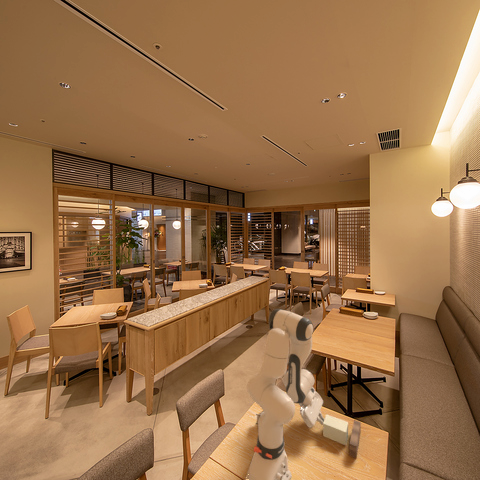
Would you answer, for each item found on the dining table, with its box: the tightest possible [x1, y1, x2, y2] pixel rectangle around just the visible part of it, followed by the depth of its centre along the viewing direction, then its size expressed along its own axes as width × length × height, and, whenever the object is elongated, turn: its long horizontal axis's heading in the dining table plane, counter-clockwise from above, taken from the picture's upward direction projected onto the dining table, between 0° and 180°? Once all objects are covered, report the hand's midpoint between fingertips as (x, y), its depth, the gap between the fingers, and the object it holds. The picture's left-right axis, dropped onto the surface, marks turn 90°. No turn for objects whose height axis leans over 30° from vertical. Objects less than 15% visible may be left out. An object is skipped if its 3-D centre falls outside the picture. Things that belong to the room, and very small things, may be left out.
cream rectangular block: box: [322, 414, 349, 446], centre depth 127 cm, size 7×11×7 cm, turn 58°
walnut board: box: [349, 419, 362, 459], centre depth 122 cm, size 16×3×6 cm, turn 148°
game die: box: [255, 410, 264, 425], centre depth 134 cm, size 9×8×10 cm
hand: (323, 422), depth 130 cm, fingers closed, pressing on cream rectangular block
